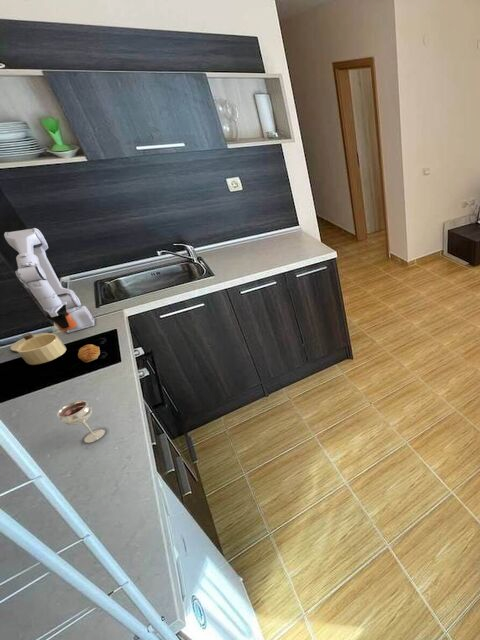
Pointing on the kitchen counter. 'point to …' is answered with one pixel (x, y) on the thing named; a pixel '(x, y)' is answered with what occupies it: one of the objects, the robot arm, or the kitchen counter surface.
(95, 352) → the pastry
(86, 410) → the wineglass
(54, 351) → the pot
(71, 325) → the cup
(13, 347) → the pot lid
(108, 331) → the kitchen counter surface
